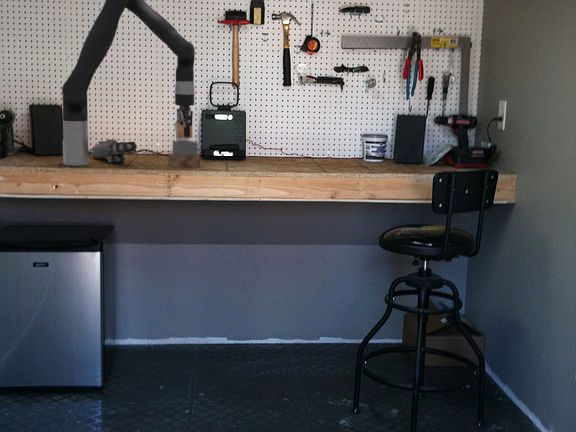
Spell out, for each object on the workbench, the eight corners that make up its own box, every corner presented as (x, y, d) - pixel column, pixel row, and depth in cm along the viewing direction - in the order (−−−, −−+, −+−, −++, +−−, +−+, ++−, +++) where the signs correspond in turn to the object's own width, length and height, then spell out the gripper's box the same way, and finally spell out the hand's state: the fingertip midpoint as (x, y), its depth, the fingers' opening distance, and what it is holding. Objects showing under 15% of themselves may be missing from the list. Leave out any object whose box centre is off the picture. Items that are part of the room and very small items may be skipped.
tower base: (175, 168, 297) (175, 156, 296) (168, 165, 306) (168, 153, 305) (199, 168, 301) (199, 155, 300) (192, 165, 310) (192, 152, 309)
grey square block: (177, 155, 297) (177, 142, 296) (172, 153, 304) (172, 141, 303) (197, 155, 300) (197, 142, 299) (192, 153, 307) (192, 140, 306)
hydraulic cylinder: (123, 161, 293) (121, 136, 293) (87, 166, 323) (85, 142, 322) (140, 161, 298) (138, 135, 297) (103, 165, 327) (101, 142, 327)
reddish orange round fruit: (179, 138, 297) (179, 125, 296) (175, 136, 303) (175, 124, 302) (194, 138, 300) (194, 125, 299) (189, 136, 305) (189, 124, 304)
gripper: (170, 92, 303) (170, 134, 306) (180, 93, 290) (180, 137, 293) (188, 92, 306) (188, 134, 309) (199, 94, 293) (199, 137, 296)
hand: (184, 135), depth 301 cm, fingers closed on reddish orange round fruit, 6 cm apart
